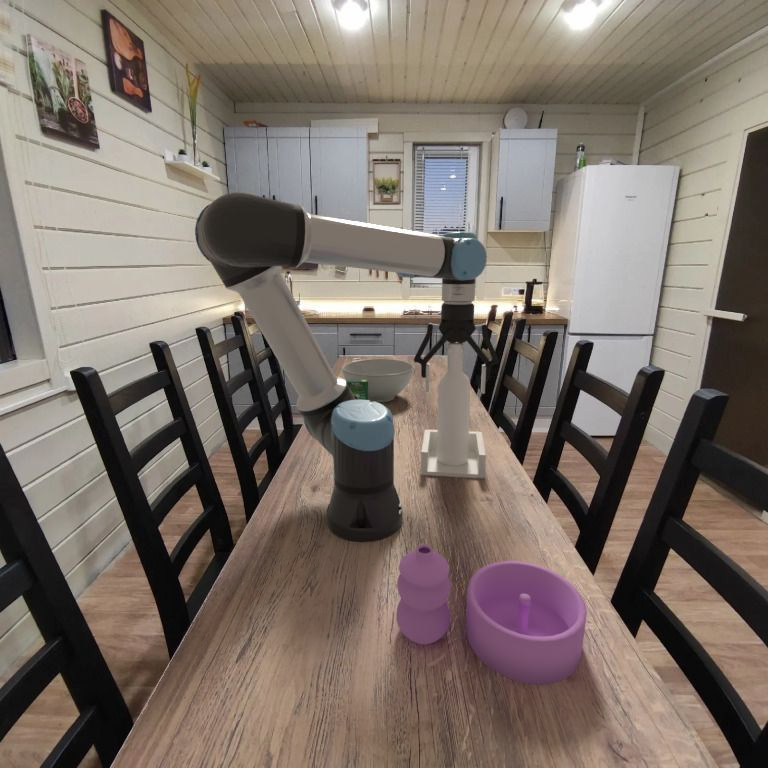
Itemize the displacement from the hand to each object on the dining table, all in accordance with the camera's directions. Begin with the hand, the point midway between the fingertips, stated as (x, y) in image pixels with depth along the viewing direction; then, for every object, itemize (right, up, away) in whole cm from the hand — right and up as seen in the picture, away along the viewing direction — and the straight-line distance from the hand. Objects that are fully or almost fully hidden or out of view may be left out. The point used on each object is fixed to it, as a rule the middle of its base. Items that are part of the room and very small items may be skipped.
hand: (454, 391), depth 111 cm
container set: (-3, -33, -48) cm, 58 cm away
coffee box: (-26, -10, +38) cm, 47 cm away
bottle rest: (0, -18, +5) cm, 19 cm away
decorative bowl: (-19, -4, +61) cm, 64 cm away
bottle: (0, -18, +5) cm, 18 cm away
